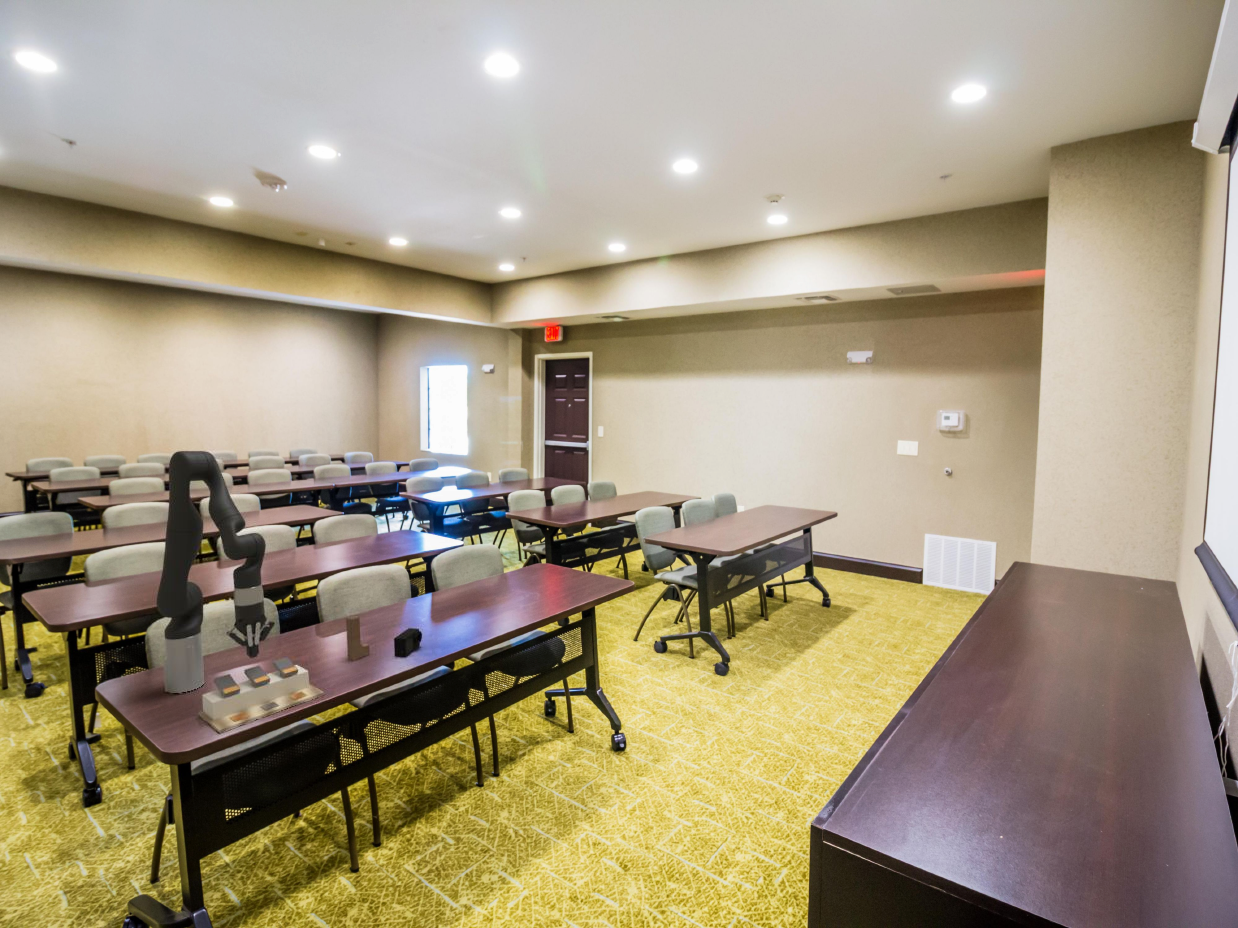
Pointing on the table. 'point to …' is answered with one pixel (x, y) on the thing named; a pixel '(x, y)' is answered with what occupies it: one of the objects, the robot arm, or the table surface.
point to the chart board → (262, 709)
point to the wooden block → (355, 639)
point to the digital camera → (407, 642)
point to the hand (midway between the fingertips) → (253, 656)
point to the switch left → (226, 685)
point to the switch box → (254, 693)
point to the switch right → (285, 667)
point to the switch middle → (257, 676)
